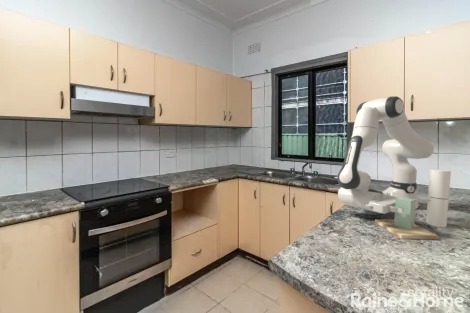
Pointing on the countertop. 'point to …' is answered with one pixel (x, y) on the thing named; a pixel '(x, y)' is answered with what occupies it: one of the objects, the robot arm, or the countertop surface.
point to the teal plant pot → (368, 210)
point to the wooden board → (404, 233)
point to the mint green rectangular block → (405, 213)
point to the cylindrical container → (438, 197)
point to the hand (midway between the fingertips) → (407, 208)
